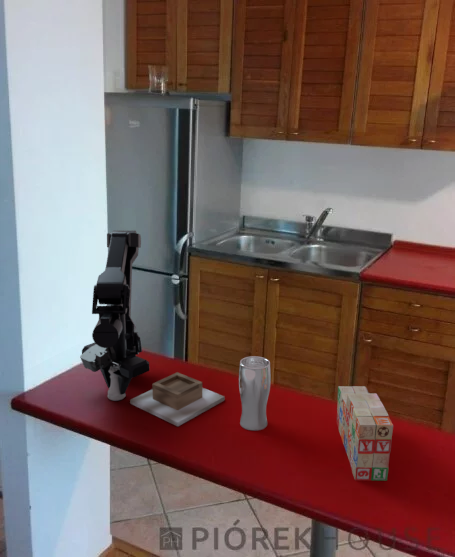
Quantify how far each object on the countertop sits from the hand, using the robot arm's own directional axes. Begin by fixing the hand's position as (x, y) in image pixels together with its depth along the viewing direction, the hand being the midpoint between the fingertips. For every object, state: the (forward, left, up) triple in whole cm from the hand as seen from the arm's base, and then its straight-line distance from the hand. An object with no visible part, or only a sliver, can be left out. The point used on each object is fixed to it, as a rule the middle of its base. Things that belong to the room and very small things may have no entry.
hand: (116, 391), depth 140 cm
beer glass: (+33, +12, -2) cm, 35 cm away
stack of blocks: (+56, +18, -2) cm, 59 cm away
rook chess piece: (0, 0, -2) cm, 2 cm away
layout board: (+13, +8, -2) cm, 15 cm away
